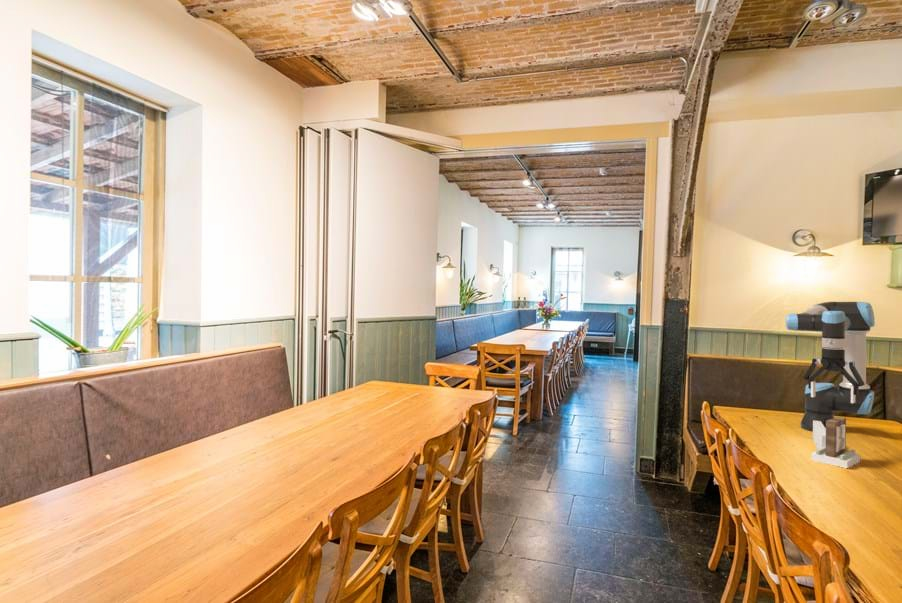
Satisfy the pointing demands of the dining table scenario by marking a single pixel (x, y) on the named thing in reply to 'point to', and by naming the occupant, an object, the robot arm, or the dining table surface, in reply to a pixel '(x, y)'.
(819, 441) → the decorative sign
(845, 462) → the panel
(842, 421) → the brown picture frame
